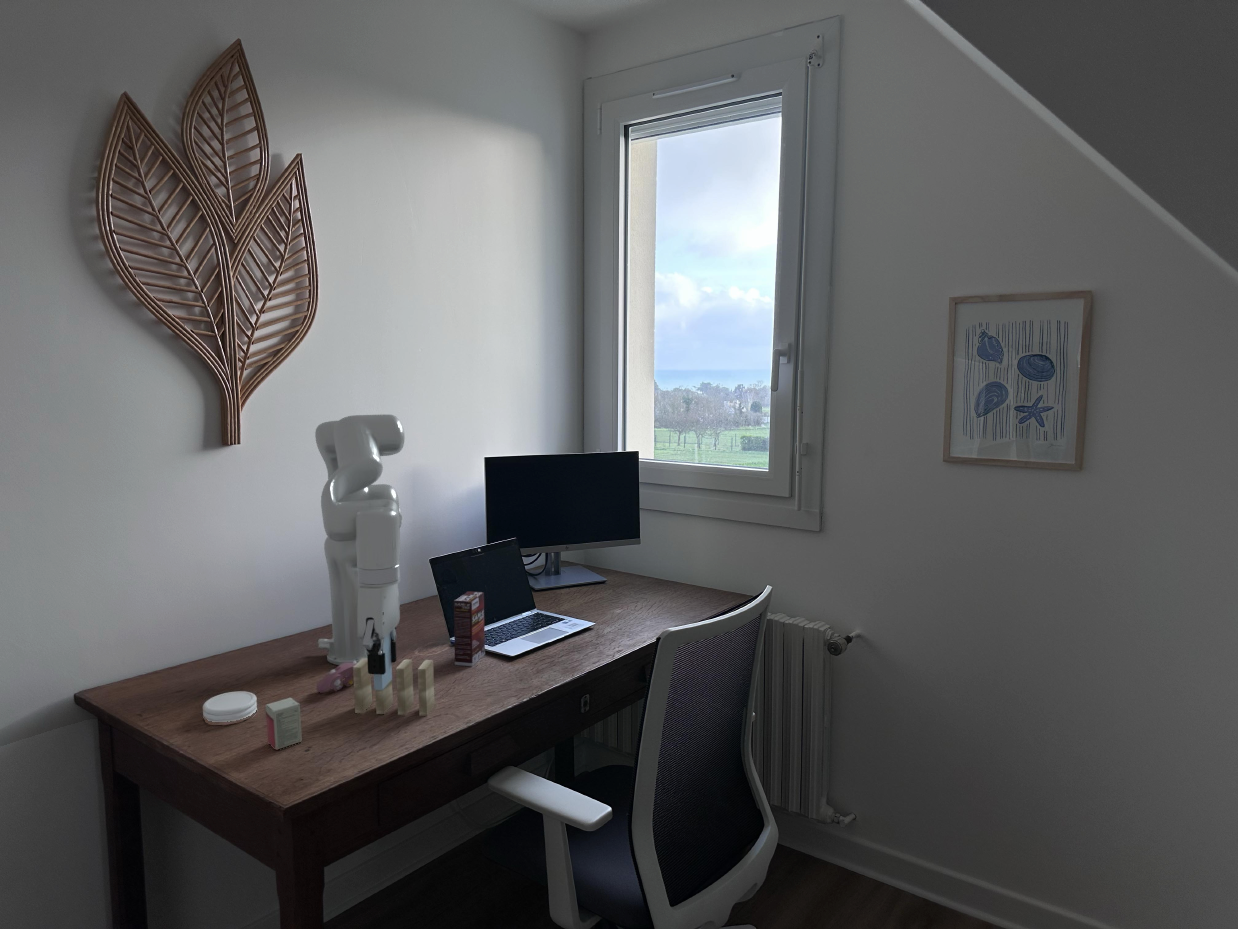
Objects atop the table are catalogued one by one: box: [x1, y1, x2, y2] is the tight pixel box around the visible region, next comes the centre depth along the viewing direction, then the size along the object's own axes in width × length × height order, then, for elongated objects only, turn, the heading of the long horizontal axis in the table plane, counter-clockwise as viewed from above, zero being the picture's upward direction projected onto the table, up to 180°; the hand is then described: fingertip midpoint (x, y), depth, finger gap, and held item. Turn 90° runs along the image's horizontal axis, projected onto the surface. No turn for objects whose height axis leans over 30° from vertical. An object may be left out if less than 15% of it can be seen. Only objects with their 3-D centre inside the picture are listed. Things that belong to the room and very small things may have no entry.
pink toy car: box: [315, 661, 357, 694], centre depth 179 cm, size 10×5×7 cm, turn 149°
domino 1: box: [353, 658, 373, 714], centre depth 168 cm, size 2×5×10 cm, turn 176°
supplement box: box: [453, 591, 486, 667], centre depth 195 cm, size 9×5×16 cm, turn 168°
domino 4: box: [417, 659, 435, 717], centre depth 166 cm, size 2×5×10 cm, turn 176°
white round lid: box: [202, 690, 258, 722], centre depth 165 cm, size 10×10×4 cm
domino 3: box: [395, 659, 415, 716], centre depth 167 cm, size 2×5×10 cm, turn 176°
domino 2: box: [374, 679, 394, 715], centre depth 167 cm, size 2×5×10 cm, turn 176°
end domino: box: [373, 633, 393, 691], centre depth 152 cm, size 2×5×10 cm, turn 176°
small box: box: [264, 697, 303, 748], centre depth 153 cm, size 5×4×8 cm
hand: (382, 666), depth 152 cm, fingers closed on end domino, 4 cm apart
